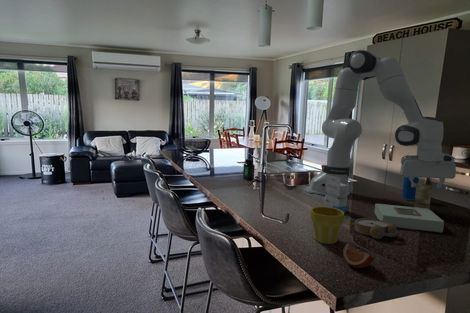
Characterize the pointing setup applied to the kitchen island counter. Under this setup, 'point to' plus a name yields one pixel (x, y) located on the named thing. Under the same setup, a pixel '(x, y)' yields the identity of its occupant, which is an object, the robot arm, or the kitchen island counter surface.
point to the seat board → (409, 217)
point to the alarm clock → (375, 228)
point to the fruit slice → (356, 256)
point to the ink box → (336, 194)
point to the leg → (423, 196)
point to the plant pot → (326, 223)
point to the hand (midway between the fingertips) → (425, 187)
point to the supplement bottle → (248, 170)
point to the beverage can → (409, 189)
